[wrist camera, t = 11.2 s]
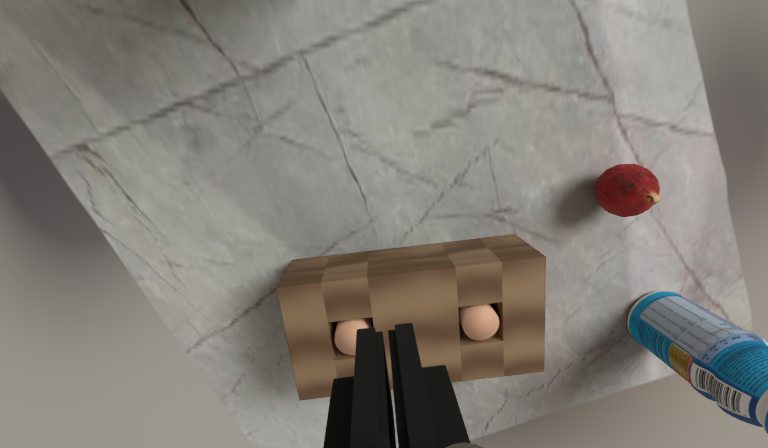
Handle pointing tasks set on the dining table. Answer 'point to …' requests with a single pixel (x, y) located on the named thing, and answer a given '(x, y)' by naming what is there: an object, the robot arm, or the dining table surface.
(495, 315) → the peg
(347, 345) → the peg
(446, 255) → the peg block
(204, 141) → the dining table surface
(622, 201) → the onion
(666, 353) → the beverage bottle
